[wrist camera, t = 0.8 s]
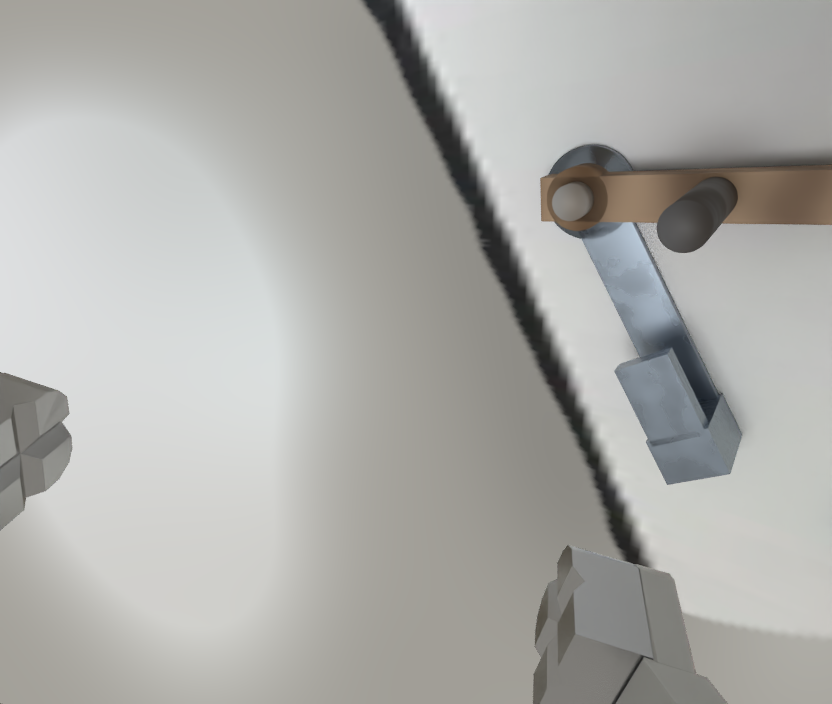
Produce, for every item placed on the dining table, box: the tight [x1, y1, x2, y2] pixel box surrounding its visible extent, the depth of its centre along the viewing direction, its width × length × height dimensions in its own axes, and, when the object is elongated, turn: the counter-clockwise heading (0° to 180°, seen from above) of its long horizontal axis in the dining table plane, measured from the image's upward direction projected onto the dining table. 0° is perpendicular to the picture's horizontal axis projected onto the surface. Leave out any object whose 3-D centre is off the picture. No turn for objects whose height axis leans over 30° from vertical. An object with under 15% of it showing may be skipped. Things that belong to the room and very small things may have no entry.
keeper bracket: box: [549, 145, 742, 485], centre depth 50 cm, size 28×8×6 cm, turn 34°
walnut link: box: [540, 163, 832, 253], centre depth 42 cm, size 21×5×12 cm, turn 97°
